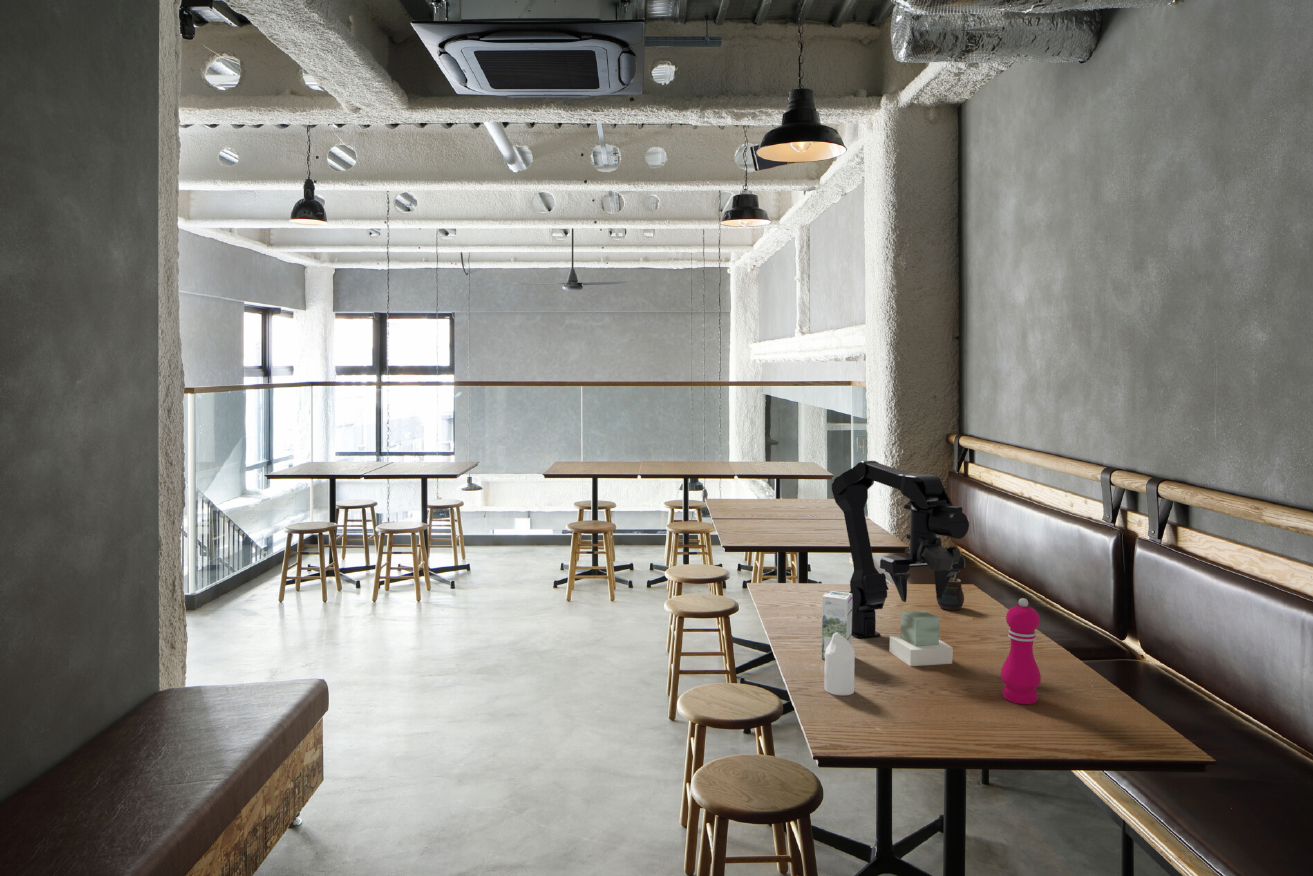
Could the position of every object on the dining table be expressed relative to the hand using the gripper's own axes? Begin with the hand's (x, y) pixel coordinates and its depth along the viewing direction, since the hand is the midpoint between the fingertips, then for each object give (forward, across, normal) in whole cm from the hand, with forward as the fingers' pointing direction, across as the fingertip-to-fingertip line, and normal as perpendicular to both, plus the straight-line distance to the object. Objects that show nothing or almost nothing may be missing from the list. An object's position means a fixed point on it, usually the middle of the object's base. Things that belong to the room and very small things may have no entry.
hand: (921, 600), depth 188 cm
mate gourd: (+13, +33, +33) cm, 48 cm away
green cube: (+9, 0, 0) cm, 9 cm away
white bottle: (+13, -28, -13) cm, 34 cm away
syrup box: (+13, -18, +5) cm, 23 cm away
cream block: (+13, 0, 0) cm, 13 cm away
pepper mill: (+13, +4, -27) cm, 30 cm away
